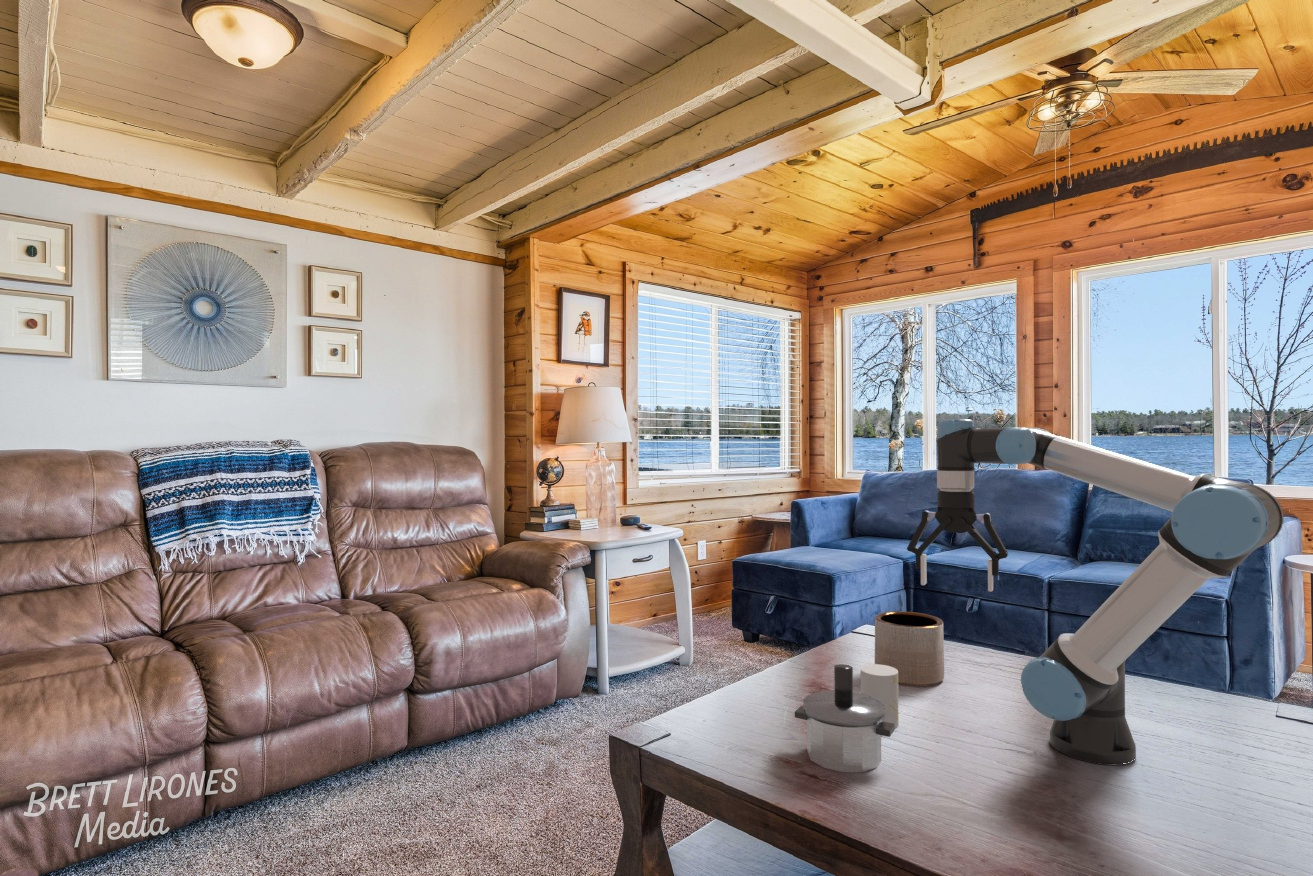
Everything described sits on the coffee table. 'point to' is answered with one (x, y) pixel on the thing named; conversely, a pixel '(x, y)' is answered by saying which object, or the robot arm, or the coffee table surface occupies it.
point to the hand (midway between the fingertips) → (956, 587)
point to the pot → (844, 744)
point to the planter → (911, 646)
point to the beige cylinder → (882, 688)
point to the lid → (844, 703)
